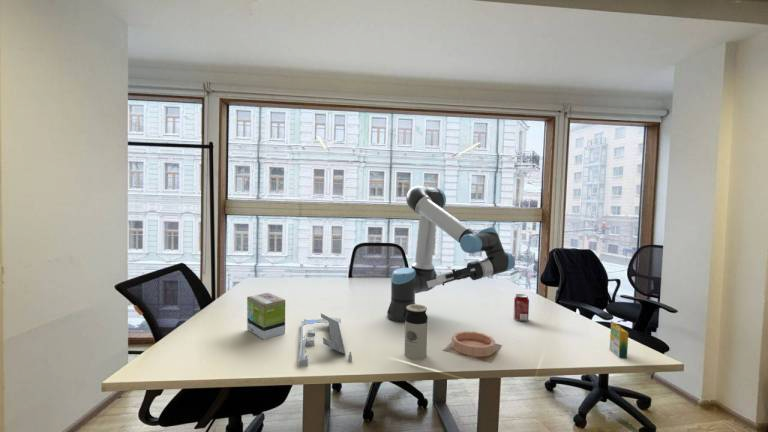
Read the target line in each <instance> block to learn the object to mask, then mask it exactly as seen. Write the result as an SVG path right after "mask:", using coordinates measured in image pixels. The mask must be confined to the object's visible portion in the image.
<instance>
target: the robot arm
mask: <svg viewBox="0 0 768 432" xmlns="http://www.w3.org/2000/svg"><path fill="white" fill-rule="evenodd" d="M405 200H406V203H407V205H408V207H409V208H410V210H412V211H413V212H414V213H416V215H419V219H418V228H417V229H418V230H417V231H418V233H417V240H416V241H417V242H416V251H415V261H414V262H413V263H411V267H401V268H396V269H394V270H393V271H392V273H391V279H390V281H391V283H390V289H391V291H390V294H391V295H390V303H389V306H388V309H387V311H386V313H387V314H386V318H387V319H389V320H391V321H393V322H399V323H405V316H406V314H407V308H406V307H407V306H408V305H413V304H416V294H419V293H423V292H428V291H430V290H433V289H434V288H435V287H436V286H440V285H442V286H445V284H446V283H447V284H448V283H451V282H454V281H459V280H462V279H463V280H465V279H467V278H470V279H471V280H472V281H477V280H481V279H482V278H486V277H487V279H488V278H489V279H490V278H491V277H490V276H495V275H498V274H501V273H505V272H507V271H510V270H513V269H515V265H516V261H515V257H514V255H513V253H511V252H509V251H507V252H505V250H504V246H503V244H502V241H501V239H500V237H499V234H498V231H497V229H496V227H493V226H490V227H485V228H483V229H481V230H479V231H478V232H477V231H474V230H473V229H472V228H471V227H469V226H468V225H466V224H464V223H463V222H461V220H459V219H458V218H456V217H454V215H452V214H450V213H449V212H448V211H446V210H445V209H444V208H445V206H446V204H447V197H446V193H445V192H444V191H443V190H442V189H441V188H439V187H436V186H427V185H426V186H424V185H415V186H412V187H411V188H410V189H409V190H408V191H407V194H406V199H405ZM437 227H438V228H439V229H440V230H442V231H443V232H444V233H446V234H447V235H448V236H450V237H451V238H452V239H454V240H455V241H456V242H458V243H459V245H460V248H461V250H462V251H463V252H465V253H466V254H476V253H481V252H484V253H485V255H486V257H484V258H480V259H476V260H473V261H470V262H467V264H466V267H464V268H460V269H451V271H450V272H446V273H443V274H439V275H438V274H437V271H436V269H435V266H434V265H433V255H434V245H435V237H436V236H435V235H436V228H437Z"/></svg>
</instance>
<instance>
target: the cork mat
mask: <svg viewBox="0 0 768 432" xmlns="http://www.w3.org/2000/svg"><path fill="white" fill-rule="evenodd" d="M502 347H503V344H499V343H495V353H494V354H493V355H490V356H486V357H473V356H468V355H464V354H461V353H459V352H457V351H456V350H454V349H453V347H452V341H451V342H449V344H447V346H445V347H444V348H443V350H442V351H443V352H445V353H446V352H447V353H450V354H456V355H458V356H463V357H467V358H472V359H475V360H479V361H482V362H487V363H490V364H492V363H493V361H494V360H495V358H496V357H497V355H498V353H499V352H500V350H501V348H502Z"/></svg>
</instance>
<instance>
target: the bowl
mask: <svg viewBox="0 0 768 432" xmlns="http://www.w3.org/2000/svg"><path fill="white" fill-rule="evenodd" d="M451 342H452V347H453V349H454V350H456V351H457V352H459V353H461V354H464V355H468V356H473V357H486V356H490V355H493V354H494V353H495V344H496V341H495V339H494V338H493V337H492V336H489V335H488V334H485V333H482V332H478V331H471V330H469V331H468V330H465V331H463V330H462V331H459V332H455V333H454V334H453V335H452V336H451Z"/></svg>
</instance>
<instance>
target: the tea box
mask: <svg viewBox="0 0 768 432" xmlns="http://www.w3.org/2000/svg"><path fill="white" fill-rule="evenodd" d="M246 300H247V301H246V304H247V307H246V311H247V312H246V313H247V314H246V317H247V318H246V320H247V321H246V323H247V325H246V326H247V327H246V328H247V330H248V331H249V332H251V333H253V334H254V335H256V336H257V337H259V338H260V339H262V340H263V339H265V340H267V339H272V338H274V336H275V337H278V336H281V335H285V334H286V299H284V298H282V297H279V296H277V295H275V294H272V293H270V292H264V293H260V294H253V295H250V296H247V297H246ZM271 337H272V338H271Z"/></svg>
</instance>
